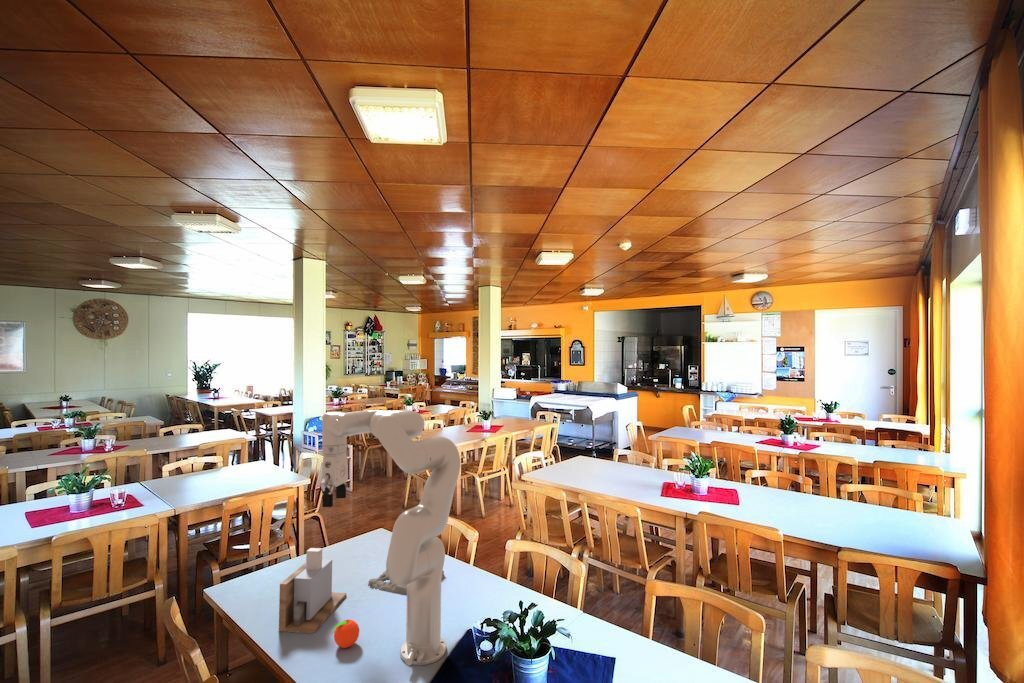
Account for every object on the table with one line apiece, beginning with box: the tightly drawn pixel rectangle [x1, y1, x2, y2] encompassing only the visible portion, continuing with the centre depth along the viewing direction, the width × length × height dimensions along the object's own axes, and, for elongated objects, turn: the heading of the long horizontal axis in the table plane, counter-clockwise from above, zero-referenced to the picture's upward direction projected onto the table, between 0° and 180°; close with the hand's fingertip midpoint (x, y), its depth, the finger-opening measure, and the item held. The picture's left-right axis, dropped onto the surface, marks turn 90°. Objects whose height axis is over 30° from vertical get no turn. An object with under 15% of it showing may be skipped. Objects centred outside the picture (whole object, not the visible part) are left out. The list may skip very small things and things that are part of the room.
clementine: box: [330, 618, 360, 649], centre depth 134 cm, size 8×7×7 cm
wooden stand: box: [278, 562, 347, 634], centre depth 152 cm, size 22×11×14 cm, turn 175°
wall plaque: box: [367, 569, 445, 596], centre depth 173 cm, size 24×19×4 cm
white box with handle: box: [293, 547, 333, 620], centre depth 152 cm, size 14×5×18 cm, turn 175°
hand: (334, 502), depth 153 cm, fingers open, 9 cm apart
